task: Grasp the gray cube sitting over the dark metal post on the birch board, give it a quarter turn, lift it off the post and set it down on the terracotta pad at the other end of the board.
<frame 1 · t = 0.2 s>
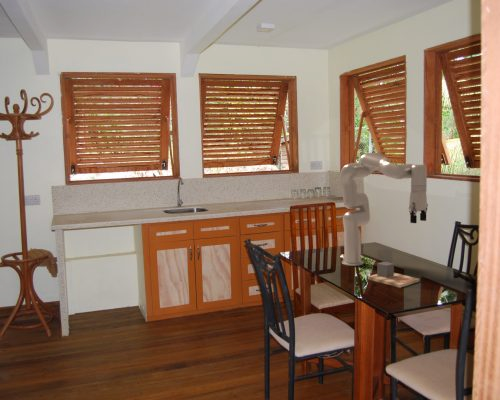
hand: (418, 221, 250), 30 cm above the table, fingers open, 9 cm apart
gray cube: (385, 275, 256), point 1 cm above the table, touching board
board: (393, 280, 252), on the table
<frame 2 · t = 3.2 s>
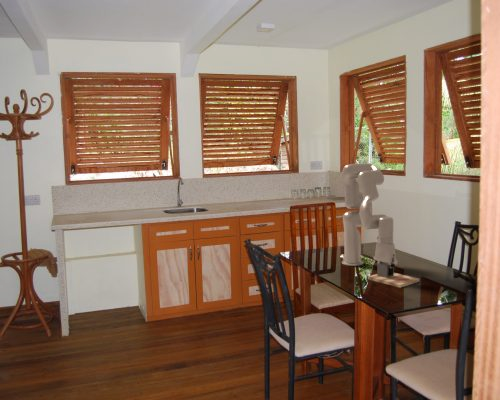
hand: (385, 273, 256), 3 cm above the table, fingers closed on gray cube, 6 cm apart
gray cube: (385, 275, 256), point 2 cm above the table, touching board, gripper
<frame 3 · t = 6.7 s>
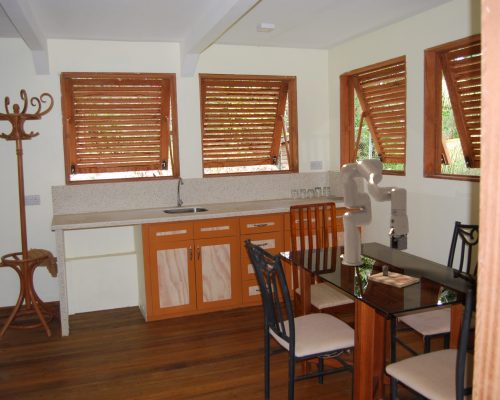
hand: (398, 247, 247), 18 cm above the table, fingers closed on gray cube, 6 cm apart
gray cube: (398, 249, 247), point 17 cm above the table, touching gripper
when the fingers open (4 cm above the table, at t = 10.4 s): gray cube drops 1 cm, resting on board.
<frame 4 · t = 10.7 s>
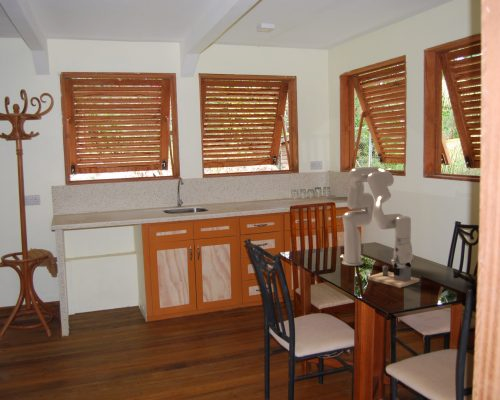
hand: (402, 273, 247), 5 cm above the table, fingers open, 9 cm apart
gray cube: (402, 279, 247), point 2 cm above the table, touching board
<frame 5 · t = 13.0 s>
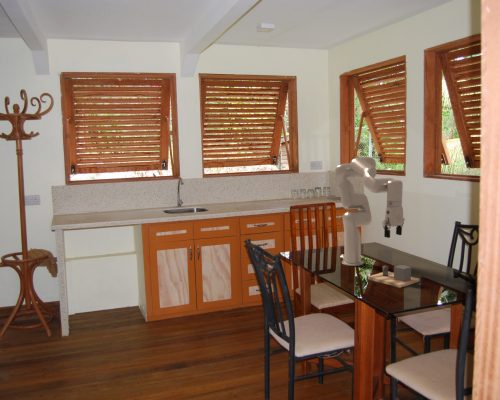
hand: (393, 236, 254), 23 cm above the table, fingers open, 9 cm apart
nothing on the table moved.
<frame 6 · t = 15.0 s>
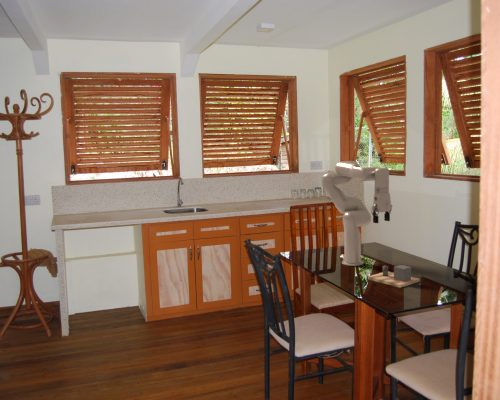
hand: (381, 221, 264), 28 cm above the table, fingers open, 9 cm apart
nothing on the table moved.
at the end: gray cube 0.1 cm from the target spot on the board, point 1.7 cm above the board's base; gray cube tilted 0°; the gripper is holding nothing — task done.
